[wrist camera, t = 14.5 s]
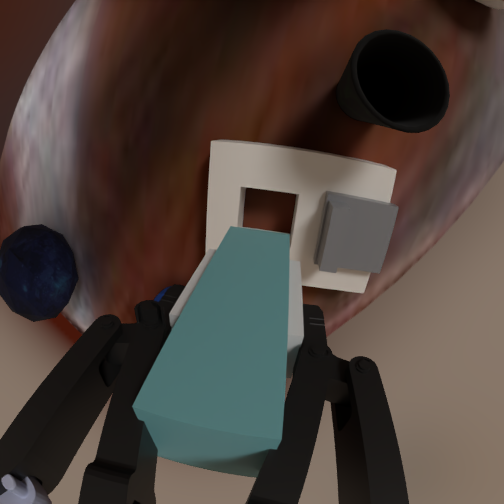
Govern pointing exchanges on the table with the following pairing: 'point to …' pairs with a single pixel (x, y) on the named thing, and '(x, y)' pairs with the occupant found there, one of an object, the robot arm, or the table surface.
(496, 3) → the lidded jar
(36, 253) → the decorative orb
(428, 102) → the cup
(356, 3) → the table surface
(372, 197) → the socket box
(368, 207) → the plate
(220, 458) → the plug
